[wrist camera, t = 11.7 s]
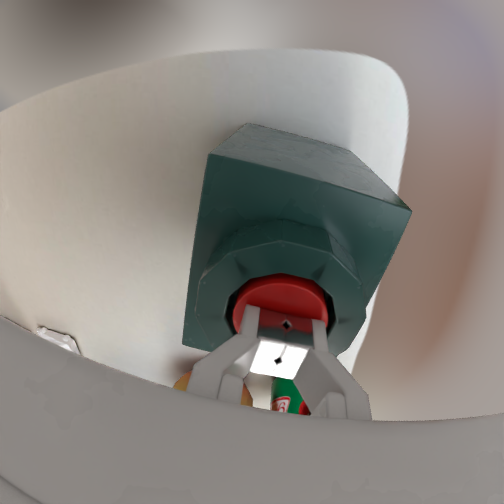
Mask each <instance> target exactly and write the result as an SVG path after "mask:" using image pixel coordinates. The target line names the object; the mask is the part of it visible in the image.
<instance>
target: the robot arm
mask: <svg viewBox="0 0 504 504" xmlns="http://www.w3.org/2000/svg"><path fill="white" fill-rule="evenodd" d="M249 372H254V373H259V374H265V375H271V376H276V377H281V378H285V379H290V380H293V382H294V384H295V386H296V387H297V389H298V391H299V393H300V394H301V396H302V398H303V400H304V401H305V403H306V405H307V407H308V408H309V410H310V412H311V415H310V416H307V415H299V414H292V413H285V412H278V411H272V410H266V409H260V408H255V407H250V406H245V405H240V404H241V397H242V390H243V383H244V380H243V378H244V377H245V376H246V375H247V374H248V373H249ZM0 504H504V413H500V414H493V415H487V416H479V417H470V418H459V419H447V420H432V421H431V420H429V421H372V416H371V410H370V404H369V398H368V394H367V393H366V392H365V391H364V390H363V389H362V387H361V386H360V385H359V384H358V383H357V382H356V381H355V379H354V378H353V377H352V376H351V374H350V373H349V372H348V371H347V370H346V369H345V367H344V366H343V365H342V364H341V363H340V362H339V360H338V359H337V358H336V357H335V356H334V354H333V353H330V352H329V351H328V343H327V335H326V328H325V322H324V321H321V320H316V319H309V318H304V317H299V316H294V315H290V314H285V313H281V312H277V311H273V310H269V309H265V308H261V307H256V306H252V305H248V304H246V307H245V310H244V314H243V317H242V321H241V324H240V328H239V332H238V334H236V335H234V336H233V337H232V338H230V339H229V340H228V341H226V342H225V343H223V344H222V345H221V346H219V347H218V348H216V349H215V350H214V351H212V352H211V353H209V354H208V355H207V356H205V357H204V358H202V359H201V360H199V361H198V362H197V363H195V364H194V366H193V369H192V373H191V376H190V379H189V382H188V385H187V389H186V392H185V391H181V390H178V389H174V388H171V387H168V386H164V385H161V384H158V383H154V382H151V381H148V380H145V379H142V378H139V377H136V376H133V375H130V374H128V373H125V372H122V371H119V370H116V369H114V368H111V367H108V366H106V365H103V364H101V363H98V362H96V361H93V360H91V359H88V358H86V357H84V356H81V355H79V354H76V353H74V352H72V351H70V350H67V349H65V348H63V347H61V346H59V345H56V344H54V343H52V342H50V341H48V340H46V339H44V338H42V337H40V336H38V335H36V334H34V333H32V332H30V331H28V330H26V329H24V328H23V327H21V326H19V325H17V324H15V323H13V322H12V321H10V320H8V319H6V318H4V317H3V316H1V315H0Z"/></svg>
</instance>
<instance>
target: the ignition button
mask: <svg viewBox="0 0 504 504" xmlns="http://www.w3.org/2000/svg"><path fill="white" fill-rule="evenodd" d="M246 304H248V305H252V306H256V307H261V308H265V309H269V310H273V311H277V312H281V313H285V314H290V315H294V316H299V317H304V318H309V319H316V320H321V321H324V322H325V328H326V327H327V324H328V312H327V305H326V298H325V292H324V290H323V289H322V288H321V287H320V286H319V285H318V284H317V283H316V282H315V281H314V280H311V279H307V278H302V277H298V276H294V275H290V274H286V273H276V274H272V275H267V276H262V277H257V278H252V279H249V280H248V281H247V282H246V283H245V284H243V285H242V286H241V287H240V288H239V289H238V293H237V298H236V302H235V306H234V311H233V323H234V327H235V329H236V331H237V333H238V332H239V328H240V324H241V321H242V317H243V314H244V310H245V307H246Z"/></svg>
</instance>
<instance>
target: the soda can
mask: <svg viewBox="0 0 504 504" xmlns="http://www.w3.org/2000/svg"><path fill="white" fill-rule="evenodd" d="M270 410H272V411H278V412H285V413H292V414H299V415H307V416H310V415H311V412H310V410H309V408H308V407H307V405H306V403H305V401H304V400H303V398H302V396H301V394H300V393H299V391H298V389H297V387H296V386H295V384H294V382H293V380H290V379H285V378H281V377H277V378H276V379H275V380H274V381H273V382H272V389H271V402H270Z"/></svg>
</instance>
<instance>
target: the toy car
mask: <svg viewBox="0 0 504 504" xmlns="http://www.w3.org/2000/svg"><path fill="white" fill-rule="evenodd" d="M36 331H37V333H38V335H39V336H40V337H42V338H44V339H46V340H48V341H50V342H52V343H54V344H56V345H59V346H61V347H63V348H65V349H67V350H70V351H72V352H74V353H76V354H79V355H81V354H80V352H79V350H78V348H77V346H76V343H75V341H74V340H73V339H72V338H71V337H70V336H69V335H63V334H60V333H57V332H54V331H51V330H48V329H47V328H45V327H43V328H39V327H38V328H37V329H36Z"/></svg>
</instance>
